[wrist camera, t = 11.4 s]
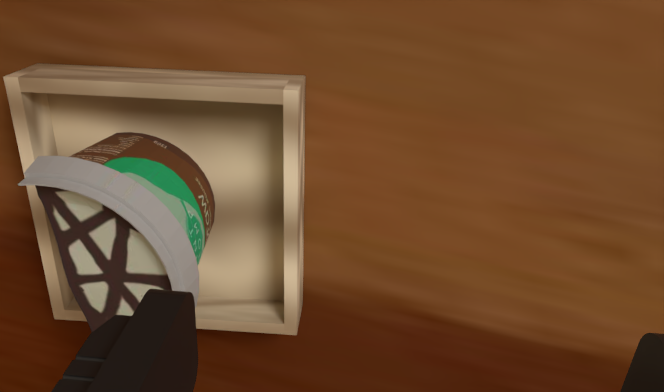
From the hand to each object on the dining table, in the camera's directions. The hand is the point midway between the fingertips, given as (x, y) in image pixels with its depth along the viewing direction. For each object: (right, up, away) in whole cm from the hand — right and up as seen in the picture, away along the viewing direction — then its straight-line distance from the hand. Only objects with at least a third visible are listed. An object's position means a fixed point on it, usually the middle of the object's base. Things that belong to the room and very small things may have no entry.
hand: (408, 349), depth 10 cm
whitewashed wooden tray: (-11, +3, +27) cm, 29 cm away
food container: (-11, +3, +26) cm, 28 cm away
